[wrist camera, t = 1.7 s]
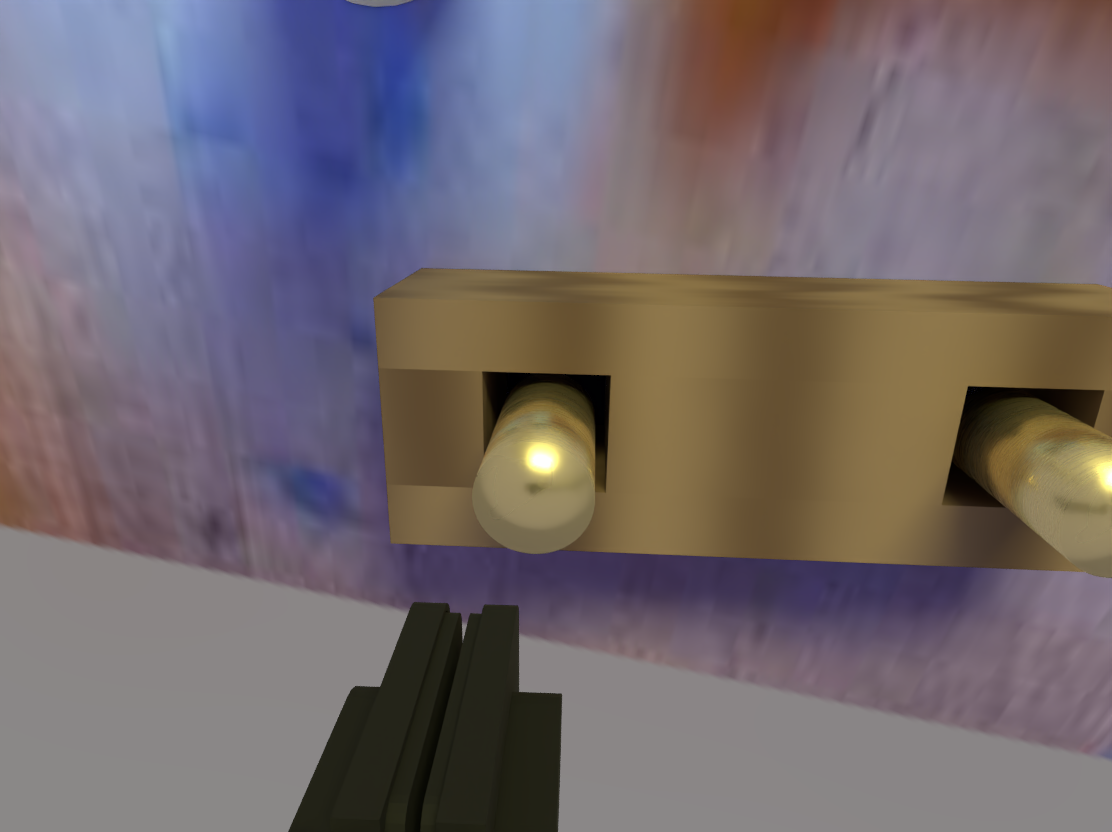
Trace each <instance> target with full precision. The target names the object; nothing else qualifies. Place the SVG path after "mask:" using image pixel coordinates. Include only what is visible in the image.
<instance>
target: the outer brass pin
mask: <svg viewBox="0 0 1112 832" xmlns="http://www.w3.org/2000/svg"><path fill="white" fill-rule="evenodd" d="M472 501H473V507H474V512H475V514H476V517H477V519H478V521H479V523H480V524H481V526H482V527H483V529H484V530H485V531H486V532H487V533H488V534H489V535H490V537H492V538H493V539H494V540H495V541H497V542H498V543H500V544H501V545H503V546H505V547H507V548H509V549H512V550H515V551H518V552H522V553H529V554H543V553H549V552H553V551H557V550H559V549H562V548H564V547H566V546H568V545H570V544H571V543H572V542H574V541H575V540H576V539H578V538H579V537H580V536H581V535H582V533H583V532H584V531H585V530H586V528H587V526H588V525H589V523H590V521H591V518H592V516H593V512H594V506H595V410H594V405H593V402H592V400H591V398H590V396H589V394H588V393H587V391H586V390H585V389H584V388H583V387H582V386H581V385H580V384H579V383H578V382H576V381H575V380H574V379H572V378H570V377H568V376H565V375H563V374H553V373H537V374H533V375H530V376H528V377H526V378H524V379H522V380H521V381H520V382H518V383H517V384H516V385H515V386H514V387H513V388H512V389H511V391H510V392H509V394H508V395H507V397H506V400H505V402H504V405H503V407H502V410H501V413H500V415H499V418H498V421H497V423H496V426H495V428H494V431H493V434H492V436H491V439H490V442H489V444H488V447H487V450H486V452H485V455H484V457H483V460H482V463H481V465H480V468H479V471H478V473H477V476H476V479H475V481H474V485H473V490H472Z"/></svg>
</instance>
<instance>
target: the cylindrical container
mask: <svg viewBox="0 0 1112 832" xmlns="http://www.w3.org/2000/svg"><path fill="white" fill-rule="evenodd" d="M346 1H349V2H351V3H354V4H360V5H366V6H373V7H381V6H396V5H400V4H403V3H406V2H409V1H413V0H346Z"/></svg>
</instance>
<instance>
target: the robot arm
mask: <svg viewBox="0 0 1112 832" xmlns="http://www.w3.org/2000/svg"><path fill="white" fill-rule="evenodd" d="M561 715H562V694H555V693H529V692H528V693H527V692H519V608H518V606H512V605H484V607H483V610H482V614H474V613H471V614H470V616H469V620H468V624H467V628H466V632H465V636H464V640H463V642H462V617H461V614H460V613H450V608H449V605H448V603H423V602H414V603H413V604H412V606H411V608H410V611H409V613H408V616H407V618H406V621H405V624H404V627H403V629H402V631H401V634H400V637H399V639H398V642H397V644H396V647H395V650H394V652H393V655H392V658H391V660H390V663H389V666H388V668H387V671H386V673H385V676H384V678H383V681H382V684H381V686H380V687H365V686H355V687H354V688H353V689H352V690H351V691H350V693H349V695H348V697H347V699H346V701H345V704H344V706H343V708H342V710H341V713H340V715H339V717H338V719H337V722H336V724H335V726H334V729H333V731H332V733H331V736H330V738H329V740H328V742H327V745H326V747H325V749H324V752H323V754H322V756H321V758H320V761H319V763H318V765H317V768H316V770H315V772H314V774H313V777H312V779H311V781H310V783H309V786H308V788H307V790H306V793H305V795H304V797H303V799H302V802H301V804H300V806H299V808H298V811H297V813H296V815H295V818H294V820H293V822H292V824H291V827H290V829H289V831H288V832H558V816H559V787H560V755H561Z"/></svg>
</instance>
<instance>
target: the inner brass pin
mask: <svg viewBox="0 0 1112 832" xmlns="http://www.w3.org/2000/svg"><path fill="white" fill-rule="evenodd" d="M952 462H953V463H954V464H955V465H956V466H957V467H959V468H960V469H961V470H962V471H963V472H965V473H966V474H967V475H968V476H969V477H971V478H972V479H973V480H974V481H975V482H976V483H978V484H979V485H980V486H981V487H982V488H984V489H985V490H986V491H987V492H988V493H989V494H991V495H992V496H993V497H994V498H995V499H997V500H998V501H999V502H1000V503H1001V504H1002V505H1004V506H1005V507H1006V508H1007V509H1008V510H1010V511H1011V512H1012V513H1013V514H1014V515H1016V516H1017V517H1018V518H1019V519H1020V520H1021V521H1023V522H1024V523H1025V524H1026V525H1027V526H1029V527H1030V528H1031V529H1032V530H1033V531H1034V532H1036V533H1037V534H1038V535H1039V536H1040V537H1042V538H1043V539H1044V540H1045V541H1046V542H1047V543H1049V544H1050V545H1051V546H1052V547H1053V548H1055V549H1056V550H1057V551H1058V552H1059V553H1061V554H1062V555H1063V556H1064V557H1065V558H1066V559H1068V560H1069V561H1070V562H1071V563H1072V564H1074V565H1075V566H1076V567H1078V568H1079V569H1080V570H1082V571H1084V572H1086V573H1089V574H1091V575H1095V576H1099V577H1106V578H1112V438H1111V437H1109V436H1108V435H1106V434H1104V433H1102V432H1100V431H1098V430H1096V429H1095V428H1093V427H1091V426H1089V425H1087V424H1085V423H1083V422H1081V421H1080V420H1078V419H1076V418H1074V417H1072V416H1070V415H1068V414H1067V413H1065V412H1063V411H1061V410H1059V409H1057V408H1055V407H1053V406H1052V405H1050V404H1048V403H1046V402H1044V401H1042V400H1040V399H1039V398H1037V397H1035V396H1033V395H1031V394H1029V393H1027V392H1025V391H1024V390H1021V389H1019V388H1015V387H990V388H986V389H983V390H981V391H978V392H976V393H974V394H972V395H971V396H969V397H968V398H966V399H965V401H964V406H963V410H962V415H961V419H960V424H959V429H958V433H957V438H956V442H955V447H954V451H953V456H952Z"/></svg>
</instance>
